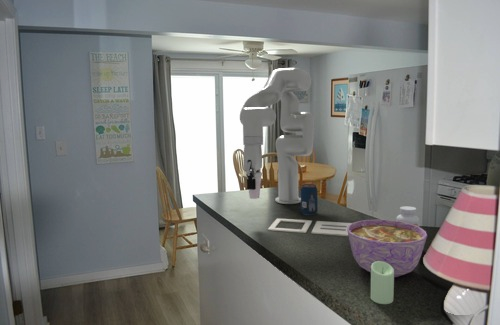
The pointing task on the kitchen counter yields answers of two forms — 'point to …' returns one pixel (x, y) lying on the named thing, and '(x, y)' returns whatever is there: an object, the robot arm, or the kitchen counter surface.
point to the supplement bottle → (408, 215)
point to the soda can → (309, 199)
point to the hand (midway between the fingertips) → (254, 187)
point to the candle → (382, 282)
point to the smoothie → (255, 193)
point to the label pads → (319, 227)
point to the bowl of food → (387, 244)
